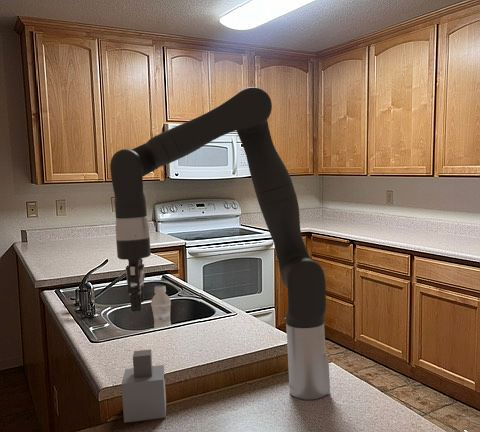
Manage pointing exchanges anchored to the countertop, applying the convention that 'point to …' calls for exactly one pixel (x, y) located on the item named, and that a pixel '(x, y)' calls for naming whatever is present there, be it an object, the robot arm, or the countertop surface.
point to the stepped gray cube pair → (143, 389)
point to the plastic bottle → (161, 307)
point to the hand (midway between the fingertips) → (137, 306)
